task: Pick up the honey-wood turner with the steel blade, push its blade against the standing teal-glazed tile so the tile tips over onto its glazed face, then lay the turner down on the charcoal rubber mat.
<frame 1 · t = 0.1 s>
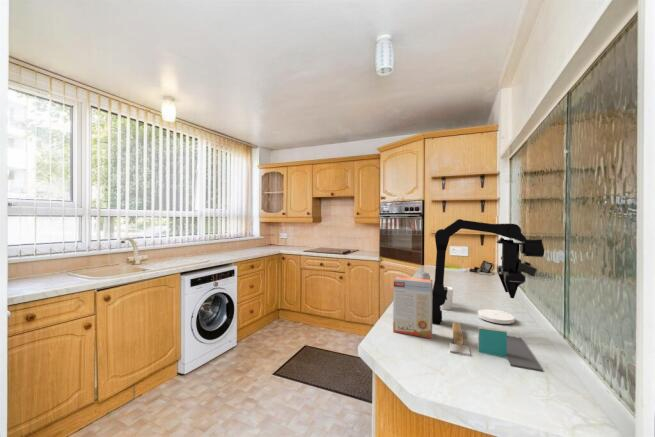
hand: (509, 295, 113), 15 cm above the table, tool pointing down, fingers open, 9 cm apart
turner: (457, 340, 105), on the table
cracker box: (412, 333, 111), on the table
plastic lid: (495, 320, 127), on the table
white cup: (444, 308, 142), on the table
energy drink can: (423, 301, 153), on the table
mat: (516, 351, 97), on the table
tile: (492, 341, 95), point 4 cm above the table
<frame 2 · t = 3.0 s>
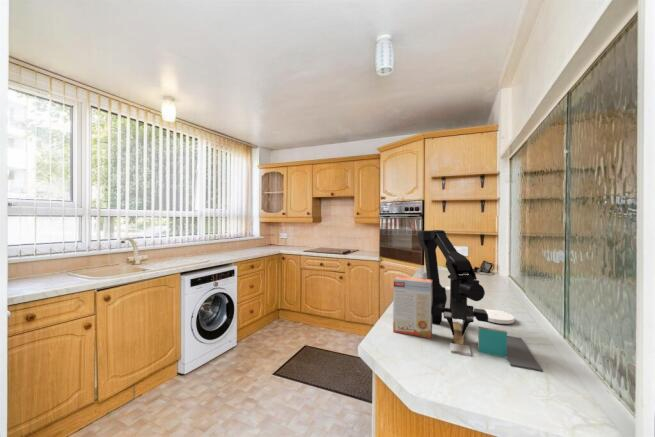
hand: (457, 335, 105), 2 cm above the table, tool pointing down, fingers closed on turner, 3 cm apart
turner: (457, 339, 105), on the table, touching gripper
everything else where it was.
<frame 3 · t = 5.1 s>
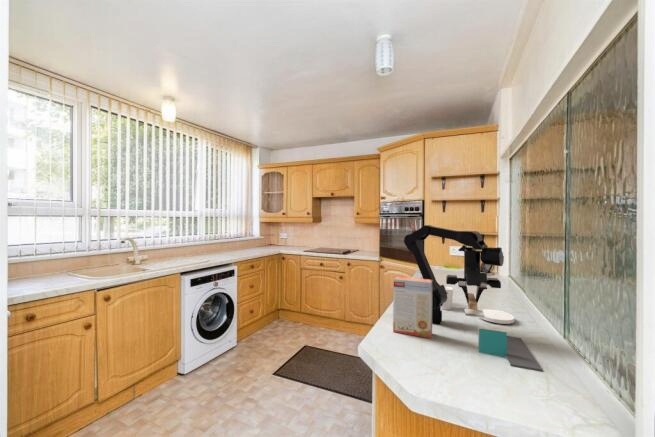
hand: (472, 303, 112), 11 cm above the table, tool pointing down, fingers closed on turner, 3 cm apart
turner: (472, 307, 112), point 10 cm above the table, touching gripper
everything else where it was.
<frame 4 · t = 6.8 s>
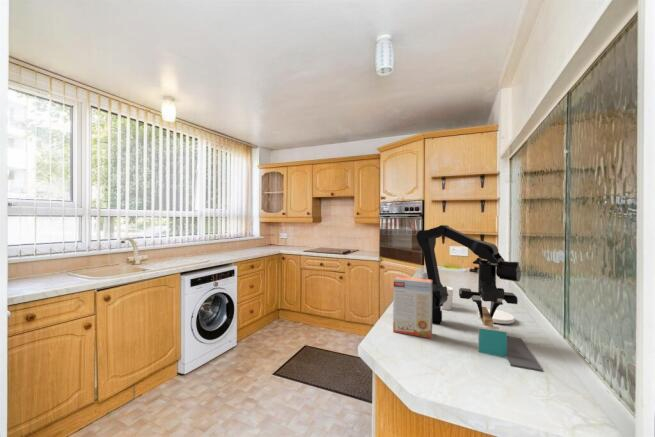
hand: (486, 318, 108), 7 cm above the table, tool pointing down, fingers closed on turner, 3 cm apart
turner: (486, 322, 108), point 6 cm above the table, touching gripper
everything else where it was.
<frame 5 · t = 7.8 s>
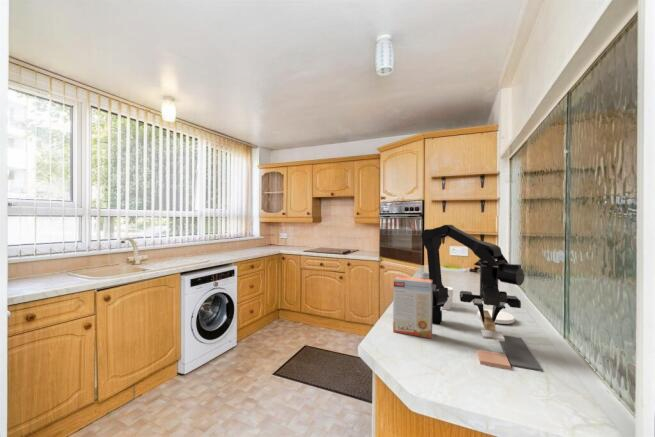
hand: (488, 322, 104), 7 cm above the table, tool pointing down, fingers closed on turner, 3 cm apart
turner: (487, 326, 104), point 6 cm above the table, touching gripper
tile: (493, 359, 90), on the table, tilted 90°
everything else where it was.
when the fingers open (3 cm above the table, at t = 10.9 s): turner stays where it is, resting on mat.
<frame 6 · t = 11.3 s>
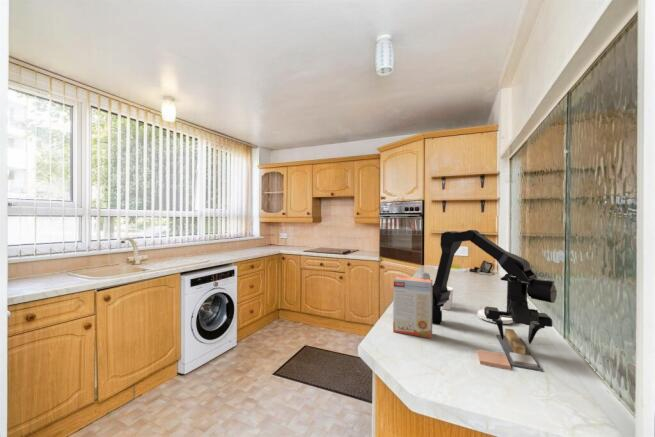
hand: (515, 341, 98), 3 cm above the table, tool pointing down, fingers open, 8 cm apart
turner: (515, 348, 98), resting on mat
everything else where it was.
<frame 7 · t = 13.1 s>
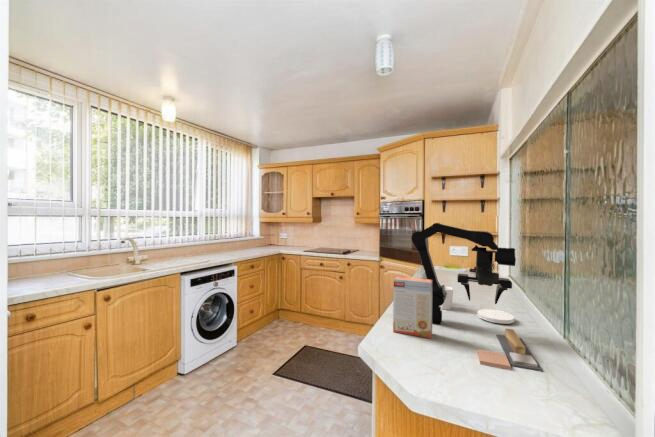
hand: (482, 302, 114), 11 cm above the table, tool pointing down, fingers open, 9 cm apart
nothing on the table moved.
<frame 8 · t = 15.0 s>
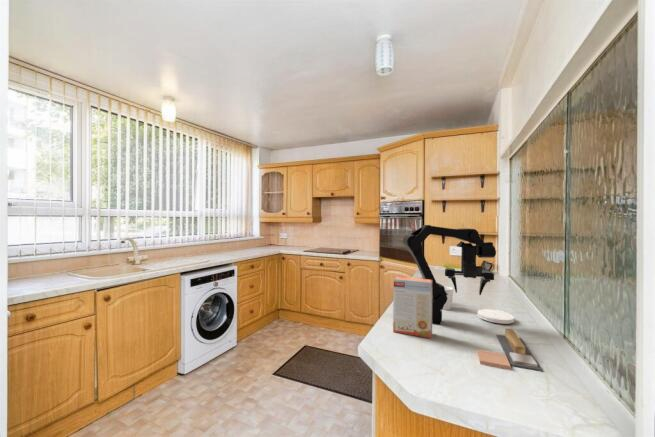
hand: (467, 293, 124), 12 cm above the table, tool pointing down, fingers open, 9 cm apart
nothing on the table moved.
at the end: tile inside the target area (0.7 cm from its centre), on the table; turner inside the target area (0.1 cm from its centre), point 0.5 cm above the table; turner touching mat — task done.
